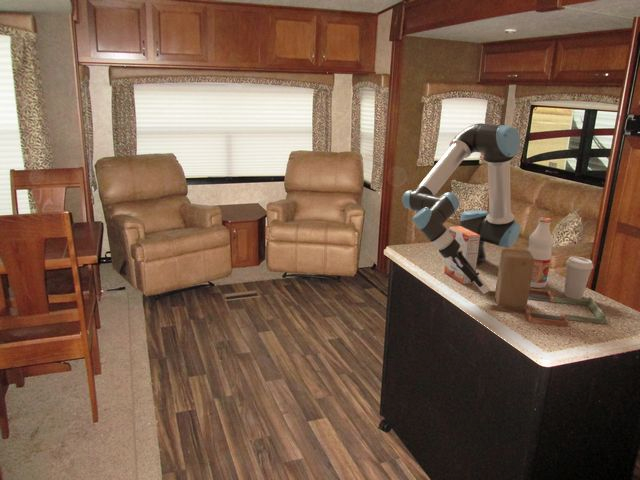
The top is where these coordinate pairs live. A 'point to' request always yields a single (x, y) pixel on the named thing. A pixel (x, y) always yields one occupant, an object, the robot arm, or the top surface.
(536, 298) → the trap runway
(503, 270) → the wooden block
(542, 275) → the fruit juice
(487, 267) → the top surface
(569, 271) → the coffee cup
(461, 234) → the cracker box
